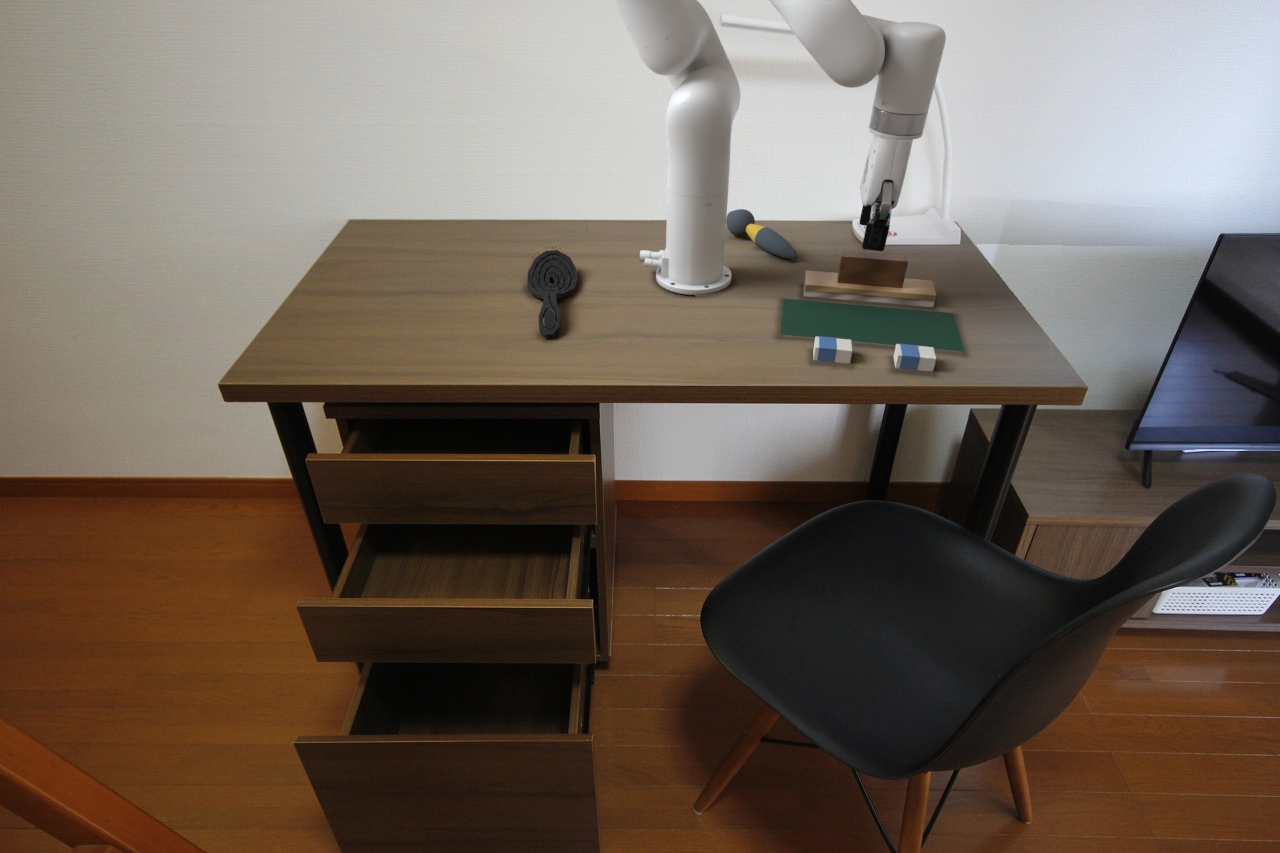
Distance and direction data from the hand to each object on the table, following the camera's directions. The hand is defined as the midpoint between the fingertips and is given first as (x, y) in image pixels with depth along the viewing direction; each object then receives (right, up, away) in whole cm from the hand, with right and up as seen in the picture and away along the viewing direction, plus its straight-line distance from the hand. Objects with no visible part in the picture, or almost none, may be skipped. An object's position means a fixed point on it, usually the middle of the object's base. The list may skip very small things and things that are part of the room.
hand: (870, 237), depth 120 cm
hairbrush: (-50, -9, +4) cm, 51 cm away
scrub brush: (+1, -8, +6) cm, 10 cm away
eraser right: (+2, -21, -12) cm, 24 cm away
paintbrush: (-14, +4, +23) cm, 27 cm away
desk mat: (-1, -14, -2) cm, 14 cm away
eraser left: (-9, -20, -10) cm, 24 cm away
